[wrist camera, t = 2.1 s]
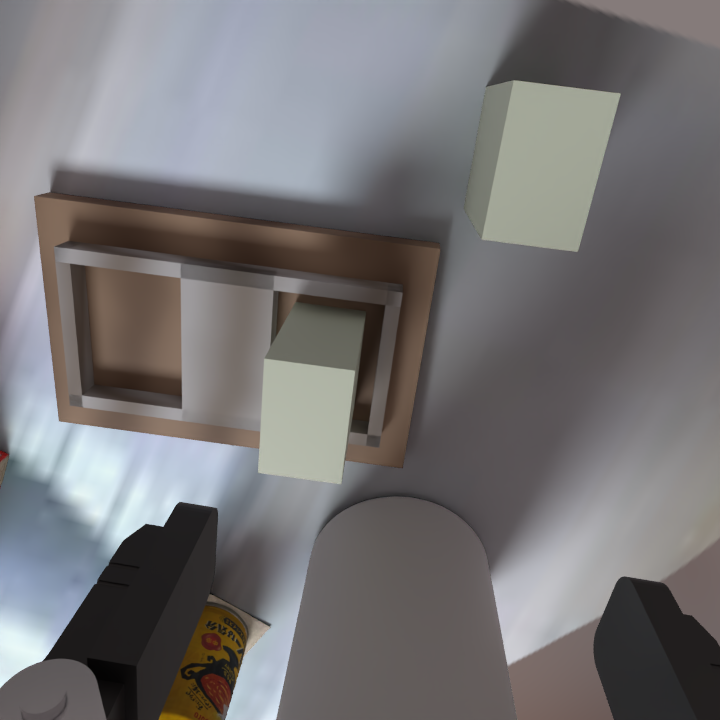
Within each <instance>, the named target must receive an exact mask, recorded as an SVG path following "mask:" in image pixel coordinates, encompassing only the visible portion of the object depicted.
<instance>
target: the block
mask: <svg viewBox="0 0 720 720" xmlns="http://www.w3.org/2000/svg"><path fill="white" fill-rule="evenodd" d="M365 318H366V311H360V310H352V309H345V308H337V307H330V306H322V305H315V304H307V303H300V302H295V304H294V306H293V308H292V309H291V311H290V313H289V315H288V317H287V318H286V320H285V322H284V324H283V326H282V327H281V329H280V331H279V333H278V335H277V336H276V338H275V340H274V342H273V344H272V345H271V347H270V349H269V351H268V353H267V354H266V356H265V358H264V371H263V390H262V409H261V428H260V448H259V467H258V473H263V474H270V475H278V476H285V477H292V478H299V479H307V480H314V481H321V482H328V483H336V484H341V483H342V477H343V471H344V465H345V459H346V453H347V447H348V441H349V435H350V429H351V423H352V417H353V411H354V405H355V397H356V389H357V381H358V373H359V365H360V357H361V349H362V341H363V333H364V325H365Z"/></svg>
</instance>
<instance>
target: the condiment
mask: <svg viewBox="0 0 720 720" xmlns="http://www.w3.org/2000/svg"><path fill="white" fill-rule="evenodd" d="M269 628H271V627H269V626H267V625H266V624H264V623H262V622H260V621H258V620H257V619H256V618H253V617H251V616H250V615H249V614H247V613H245V612H243V611H241V610H240V609H238V608H236V607H235V606H233V605H231V604H228V603H227V602H225V601H223V600H221V599H219V598H217V597H215V596H214V595H211V594H209V597H208V600H207V602H206V605H205V607H204V609H203V612H202V614H201V617H200V619H199V622H198V624H197V627H196V629H195V632H194V634H193V636H192V639H191V641H190V644H189V646H188V649H187V651H186V654H185V656H184V658H183V661H182V663H181V666H180V668H179V671H178V673H177V676H176V678H175V680H174V683H173V685H172V688H171V690H170V693H169V695H168V698H167V700H166V702H165V705H164V707H163V710H162V712H161V715H160V717H159V720H225V718H226V715H227V711H228V708H229V704H230V702H231V698H232V694H233V690H234V687H235V684H236V680H237V677H238V673H239V670H240V667H241V664H242V660H243V657H244V656H245V655H246V653H247V652H248V651H249V650H250V649H251V648H252V647H253V646H254V645H255V643H256V642H257V641H258V640H259V639H260V638H261V637H262V636H263V634H264V633H265V632H266V631H267V630H268V629H269Z"/></svg>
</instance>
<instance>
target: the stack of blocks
mask: <svg viewBox="0 0 720 720" xmlns="http://www.w3.org/2000/svg"><path fill="white" fill-rule="evenodd" d="M8 459H9V454H7V453H5V452H2V451H0V487H1V484H2V481H3V477H4V474H5V470H6V466H7V462H8Z"/></svg>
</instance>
